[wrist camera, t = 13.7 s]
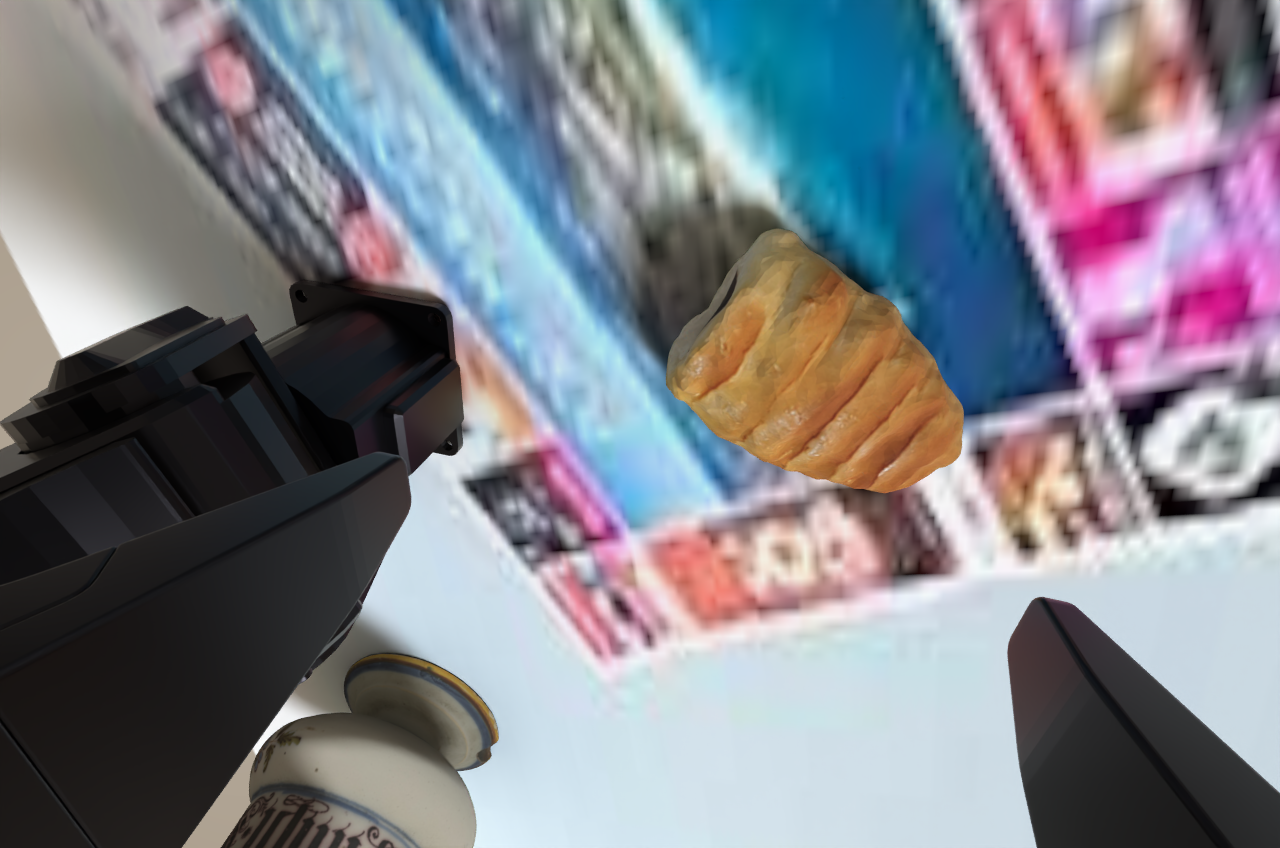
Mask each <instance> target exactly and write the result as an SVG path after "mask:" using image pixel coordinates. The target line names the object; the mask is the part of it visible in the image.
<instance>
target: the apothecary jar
mask: <svg viewBox="0 0 1280 848" xmlns="http://www.w3.org/2000/svg"><path fill="white" fill-rule="evenodd" d="M344 694H345V698H346V701H347V703H348V706H349V708H350V710H351V712H352V713H331V714H321V715H316V716H311V717H305V718H301V719H298V720H295V721H293V722H290V723H288V724H286V725H285V726H283V727H282V728H280V729H279V730H277V731H276V732H275V733H274V734H273V735H272V736H270V737H269V738H268V740H267V741H266V742H265V743H264V744H263V746H262V747H261V749H260V750H259V752H258V754H257V755H256V758H255V760H254V763H253V766H252V769H251V774H250V782H249V797H250V802H251V804H250V805H249V807H248V808H247V810H246V811H245V813H244V814H243V816H242V817H241V818H240V820H239V822H238V823H237V825H236V826H235V828H234V829H233V831H232V832H231V833H230V835H229V836H228V838H227V839H226V841H225V842H224V844H223V845H222V847H221V848H473V846H474V842H475V837H476V816H475V810H474V806H473V803H472V800H471V797H470V794H469V791H468V789H467V787H466V785H465V783H464V782H463V780H462V778H461V777H460V775H459V774H458V772H457V771H464V770H470V769H474V768H477V767H479V766H481V765H483V764H484V763H486V762H487V761H488V760H489V759H490V758H491V752H490V747H491V746H492V745H493V744H495V743H496V742H497V741H498V739H499V736H498V728H497V725H496V722H495V719H494V716H493V714H492V713H491V711H490V710H489V709H488V707H487V706H486V704H485V703H484V702H483V701H482V699H481V698H480V697H479V696H478V695H477V694H476V693H475V692H474V691H473V690H472V689H471V688H469V687H468V686H467V685H466V684H465V683H464V682H462V681H461V680H460V679H458V678H457V677H455V676H454V675H452V674H451V673H449V672H447V671H445V670H444V669H442V668H440V667H438V666H436V665H433V664H431V663H429V662H426V661H423V660H420V659H417V658H413V657H409V656H404V655H396V654H376V655H370V656H367V657H365V658H363V659H361V660H359V661H357V662H356V663H355V664H353V665H352V666H351V668H350V669H349V671H348V673H347V675H346V678H345V682H344Z"/></svg>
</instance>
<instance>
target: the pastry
mask: <svg viewBox="0 0 1280 848" xmlns="http://www.w3.org/2000/svg"><path fill="white" fill-rule="evenodd" d="M666 386H667V387H668V389H669V390H671V392H672V393H673V395H674V397H675V398H677V399H679V400H682V401H684V402H686V403H687V404H688V405H689V406H690V407H691V409H692V410H693V411H694V412H695V413H696V414H697V415H698V416H699V417H700V418H701V420H702V421H703V422H704V423H705V424H706V426H707V427H708V428H709V429H710V430H711V431H713V432H714V433H715V434H716V435H717V436H718V437H721V438H723V439H725V440H728V441H730V442H732V443H734V444H736V445H739V446H741V447H743V448H744V449H746V450H747V451H748V452H749V453H750V454H752V455H754V456H756V457H757V458H759V459H760V460H762V461H763V462H769V463H771V464H774V465H776V466H779V467H781V468H782V469H784V470H787V471H797V472H800V473H802V474H804V475H806V476H809V477H812V478H815V479H826V480H829V481H831V482H835V483H840V484H843V485H846V486H849V487H851V488H854V489H866V490H871V491H876V492H880V493H888V492H892V491H896V490H900V489H902V488H906V487H909V486H911V485H913V484H915V483H916V482H918V481H920V480H921V479H923V478H925V477H927V476H928V475H930V474H931V473H932V472H934V471H935V470H936V469H938V468H941V467H946V466H948V465H950V464H951V463H953V462H954V461H955V460H956V459H957V458H958V457H959V455H960V454H961V448H962V433H963V429H962V427H963V414H964V412H963V407H962V405H961V403H960V401H959V400H958V399H957V397H956V396H955V395H954V393H953V392H952V391H951V389H950V388H949V387H948V386H947V384H946V382H945V381H944V380H943V378H942V376H941V374H940V372H939V369H938V367H937V364H936V361H935V359H934V357H933V356H932V355H931V353H929V351H928V350H927V349H926V348H925V347H924V345H923V344H922V343H921V342H920V341H919V340H917V339H916V338H915V337H914V336H913V335H912V334H911V332H910V330H909V329H908V328H907V326H906V325H905V324H904V323H903V321H902V318H901V314H900V312H899V310H898V309H897V308H896V306H895V305H894V304H893V303H891V302H890V301H889V300H887V299H886V298H884V297H883V296H879V295H875V294H871V293H868V292H866V291H864V290H863V289H862V288H861V287H860V286H859V285H858V284H856V283H855V282H854V281H853V280H851V279H849V278H848V277H847V276H846V275H845V274H843V273H842V272H841V271H840V270H839V269H838V267H837V266H836V265H834V264H833V263H831V262H830V261H828V260H827V259H826V258H824V257H822V256H820V255H818V254H816V253H814V252H812V251H811V250H809V249H808V248H807V247H806V246H805V244H804V243H803V242H802V241H801V239H800V238H799V237H798V235H797V234H795V233H794V232H792V231H790V230H785V229H773V230H769V231H766V232H764V233H762V234H761V235H760V236H759V237H758V238H757V240H756V241H755V242H754V243H753V245H752V246H751V247H750V248H749V250H748V251H747V252H746V253H745V254H744V255H743V256H742V257H741V258H740V259H739V260H738V261H737V262H736V263H735V264H734V265H733V267H732V268H731V270H730V271H729V272H728V273H727V275H726V277H725V279H724V281H723V283H722V285H721V286H720V288H719V289H718V290H717V293H716V294H715V296H714V298H713V300H712V302H711V304H710V306H709V308H708V309H707V310H705V311H704V312H702V313H701V314H700V315H697V316H695V317H694V318H693V319H691V320H690V321H689V322H688V323H687V324H686V325H685V326H684V328H683V329H682V331H681V333H680V335H679V336H678V337H677V339H676V340H675V341H674V343H673V345H672V347H671V350H670V352H669V357H668V363H667V373H666Z"/></svg>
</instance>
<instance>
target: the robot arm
mask: <svg viewBox="0 0 1280 848" xmlns="http://www.w3.org/2000/svg"><path fill="white" fill-rule="evenodd" d="M289 290H290V298H291V302H292V307H293V311H294V316H295V320H296V326H294V327H292V328H290V329H288V330H286V331H284V332H282V333H280V334H278V335H277V336H275V337H273V338H271V339H269V340H267V341H265V342H263V343H260V341H259V339H258V338H257V336H256V335H255V333H254V332H256V331H257V329H256V328H255V326H254V324H253V323H252V321H251V320H250V318H249V316H248V315H247V314H245V315H242V316H239V317H236V318H233V319H230V320H226V321H224V320H223V319H222V317H218V318H215V319H214V318H213V317H212V318H208V317H206V316H205V315H203V314H201V313H199V312H197V311H196V310H194V309H192V308H190V307H188V306H185V307H183V308H180V309H177V310H174V311H171V312H169V313H166V314H164V315H161V316H159V317H156V318H154V319H151V320H149V321H146V322H144V323H141V324H139V325H137V326H134V327H132V328H129V329H127V330H124V331H122V332H120V333H117V334H115V335H112V336H110V337H108V338H106V339H104V340H101V341H99V342H97V343H95V344H93V345H91V346H88V347H86V348H84V349H82V350H80V351H78V352H75V353H73V354H71V355H69V356H67V357H65V358H62V359H60V360H58V361H57V362H56V365H55V368H54V371H53V374H52V376H51V379H50V382H49V385H48V388H46V389H44V390H42V391H41V392H39V393H38V394H36V395H35V396H33V397H32V398H30V401H31V402H30V403H29V404H27V405H26V406H24V407H22V408H21V409H19V410H18V411H16V412H14V413H13V414H11V415H10V416H8V417H6V418H5V419H4V420H2V421H1V422H0V425H1V426H2V427H3V429H4V430H5V431H6V432H7V433H8V435H9V436H10V437H11V438H12V439H13V440H14V442H15V443H14V444H12V445H10V446H7V447H5V448H3V449H1V450H0V848H182V847H183V845H184V844H185V842H186V841H187V840H188V838H189V837H190V835H191V834H192V832H193V831H194V830H195V828H196V827H197V826H198V824H199V823H200V821H201V820H202V818H203V817H204V816H205V814H206V813H207V812H208V810H209V809H210V807H211V806H212V805H213V803H214V802H215V800H216V799H217V798H218V796H219V795H220V793H221V792H222V791H223V789H224V788H225V786H226V785H227V784H228V782H229V781H230V779H231V778H232V777H233V775H234V774H235V772H236V771H237V770H238V768H239V767H240V765H241V764H242V763H243V761H244V760H245V758H246V757H247V756H248V754H249V753H250V751H251V750H252V749H253V747H254V746H255V744H256V743H257V742H258V740H259V739H260V737H261V736H262V735H263V733H264V732H265V730H266V729H267V728H268V726H269V725H270V723H271V722H272V721H273V719H274V718H275V716H276V715H277V714H278V712H279V711H280V709H281V708H282V707H283V705H284V704H285V702H286V701H287V700H288V698H289V697H290V695H291V694H292V693H293V691H294V690H295V688H296V687H297V686H298V684H300V683H302V682H303V681H305V680H307V679H308V678H309V677H310V676H311V674H312V672H313V671H312V670H314V669H315V668H316V667H318V666H319V665H320V664H321V663H323V662H324V661H325V660H326V659H327V658H328V657H329V656H330V655H331V654H332V653H333V652H334V651H335V650H336V649H337V648H338V647H339V645H340V644H341V643H342V642H343V640H344V639H345V638H346V637H347V635H348V633H349V631H350V630H351V628H352V626H353V624H354V622H355V620H356V619H357V618H358V617H359V614H360V612H361V609H362V604H363V602H364V600H365V598H366V596H367V593H368V591H369V589H370V587H371V585H372V583H373V580H374V578H375V576H376V574H377V572H378V569H379V567H380V565H381V563H382V561H383V558H384V556H385V554H386V552H387V550H388V549H389V547H390V545H391V543H392V542H393V540H394V538H395V536H396V535H397V533H398V531H399V529H400V527H401V526H402V524H403V522H404V520H405V519H406V517H407V515H408V513H409V510H410V507H411V492H410V485H409V478H408V476H410V475H411V474H412V473H413V472H414V471H415V470H416V469H417V468H418V467H419V466H420V465H421V464H422V463H423V462H424V461H425V460H426V459H427V458H428V457H429V456H430V455H431V454H432V453H433V452H434V453H439V454H443V455H448V456H453V455H455V454H456V453H457V452H458V451H459V450H460V449H461V448H462V446H463V437H462V426H461V423H462V422H463V420H464V414H463V402H462V389H461V377H460V367H459V365H458V363H457V361H456V355H455V343H454V332H453V320H452V315H451V312H450V311H449V309H448V308H447V307H446V306H444V305H443V304H440V303H436V302H430V301H424V300H418V299H413V298H407V297H401V296H395V295H389V294H383V293H378V292H372V291H366V290H360V289H354V288H349V287H343V286H337V285H331V284H325V283H319V282H314V281H308V280H301V281H299V282H297V283H295V284H293V285H291V287H290V289H289ZM302 291H304V292H305V294H306V295H307V298H306V297H305V296H304V294H303V292H302ZM434 313H435V314H437V315H438V316H439V317H440V320H441V322H438V321H437V320H436V319H435V318H434V315H433V314H434ZM447 441H450V442H451V443H452V445H450V444H449V443H448V442H447ZM1007 654H1008V666H1009V675H1010V685H1011V695H1012V704H1013V714H1014V723H1015V733H1016V743H1017V752H1018V759H1019V766H1020V772H1021V777H1022V782H1023V788H1024V792H1025V797H1026V801H1027V806H1028V810H1029V815H1030V819H1031V824H1032V828H1033V833H1034V837H1035V842H1036V846H1037V848H1280V793H1279V792H1278V791H1277V790H1276V789H1275V788H1274V787H1273V786H1272V785H1270V784H1269V783H1268V782H1267V781H1266V780H1265V779H1264V778H1263V777H1262V776H1261V775H1260V774H1258V773H1257V772H1256V771H1255V770H1254V769H1253V768H1252V767H1251V766H1250V765H1249V764H1248V763H1246V762H1245V761H1244V760H1243V759H1242V758H1241V757H1240V756H1239V755H1238V754H1237V753H1236V752H1234V751H1233V750H1232V749H1231V748H1230V747H1229V746H1228V745H1227V744H1226V743H1225V742H1223V741H1222V740H1221V739H1220V738H1219V737H1218V736H1217V735H1216V734H1215V733H1214V732H1213V731H1211V730H1210V729H1209V728H1208V727H1207V726H1206V725H1205V724H1204V723H1203V722H1202V721H1201V720H1199V719H1198V718H1197V717H1196V716H1195V715H1194V714H1193V713H1192V712H1191V711H1190V710H1189V709H1187V708H1186V707H1185V706H1184V705H1183V704H1182V703H1181V702H1180V701H1179V700H1178V699H1177V698H1175V697H1174V696H1173V695H1172V694H1171V693H1170V692H1169V691H1168V690H1167V689H1166V688H1164V687H1163V686H1162V685H1161V684H1160V683H1159V682H1158V681H1157V680H1156V679H1155V678H1154V677H1152V676H1151V675H1150V674H1149V673H1148V672H1147V671H1146V670H1145V669H1144V668H1143V667H1142V666H1140V665H1139V664H1138V663H1137V662H1136V661H1135V660H1134V659H1133V658H1132V657H1131V656H1130V655H1128V654H1127V653H1126V652H1125V651H1124V650H1123V649H1122V648H1121V647H1120V646H1119V645H1118V644H1116V643H1115V642H1114V641H1113V640H1112V639H1111V638H1110V637H1109V636H1108V635H1107V634H1105V633H1104V632H1103V631H1102V630H1101V629H1100V628H1099V627H1098V626H1097V625H1096V624H1095V623H1093V622H1092V621H1091V620H1090V619H1089V618H1088V617H1087V616H1086V615H1085V614H1084V613H1083V612H1081V611H1080V610H1079V609H1078V608H1077V607H1076V606H1074V605H1073V604H1071V603H1068V602H1064V601H1059V600H1055V599H1050V598H1045V597H1038V598H1035V599H1034V600H1033V601H1032V602H1031V603H1030V604H1029V606H1028V608H1027V609H1026V611H1025V613H1024V615H1023V616H1022V618H1021V620H1020V622H1019V623H1018V625H1017V627H1016V629H1015V630H1014V632H1013V634H1012V636H1011V638H1010V641H1009V644H1008V653H1007Z"/></svg>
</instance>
